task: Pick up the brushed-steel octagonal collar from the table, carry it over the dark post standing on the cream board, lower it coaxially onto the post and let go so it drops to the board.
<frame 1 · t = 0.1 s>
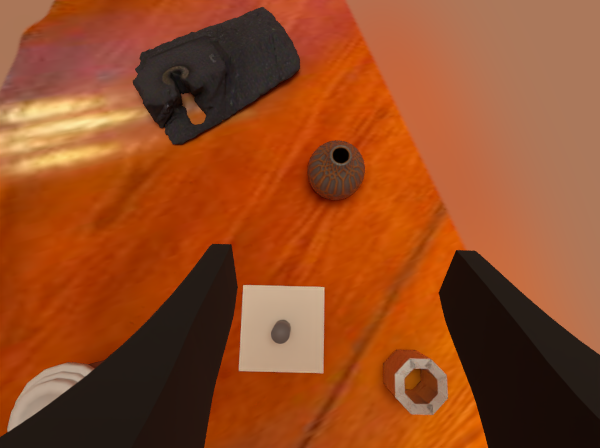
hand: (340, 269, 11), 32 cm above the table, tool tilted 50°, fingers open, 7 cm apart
vase: (332, 180, 45), on the table
coffee cup: (121, 383, 41), on the table
collar: (406, 373, 41), on the table
post stand: (282, 327, 42), on the table
crumpled black cloth: (220, 76, 48), on the table
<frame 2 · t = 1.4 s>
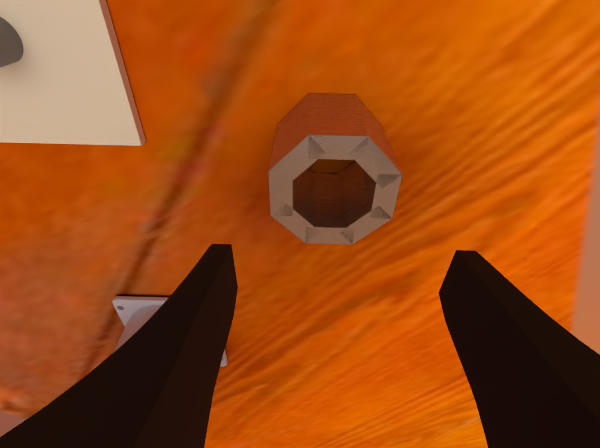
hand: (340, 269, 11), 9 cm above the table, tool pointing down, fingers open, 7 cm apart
collar: (328, 145, 19), on the table
post stand: (7, 36, 16), on the table
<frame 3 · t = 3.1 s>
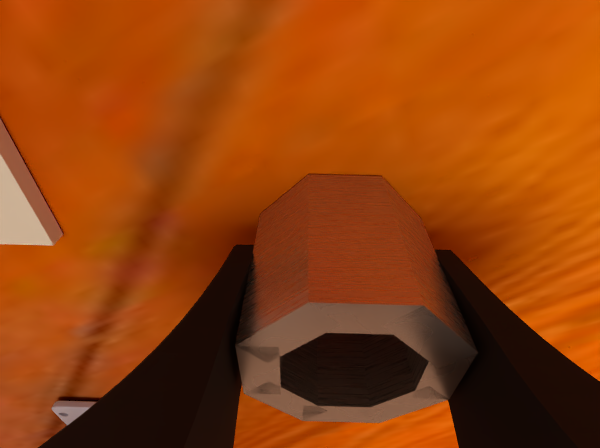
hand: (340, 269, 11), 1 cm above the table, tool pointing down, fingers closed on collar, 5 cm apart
collar: (337, 241, 12), on the table, touching gripper
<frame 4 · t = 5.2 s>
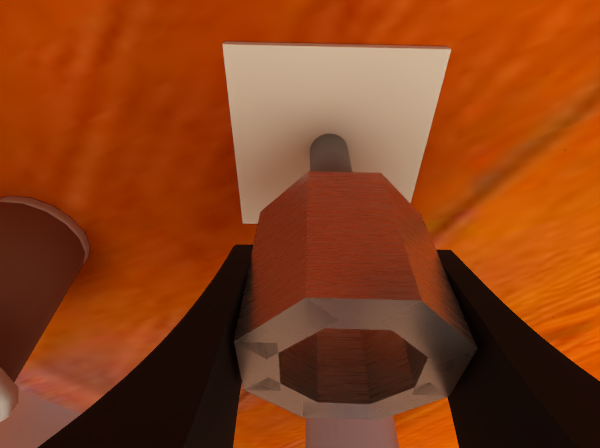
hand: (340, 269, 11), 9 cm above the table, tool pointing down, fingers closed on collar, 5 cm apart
coffee cup: (41, 233, 23), on the table
collar: (337, 238, 12), point 8 cm above the table, touching gripper
post stand: (328, 146, 18), on the table
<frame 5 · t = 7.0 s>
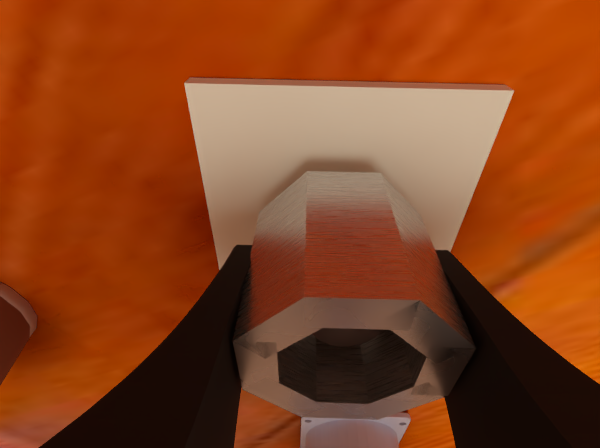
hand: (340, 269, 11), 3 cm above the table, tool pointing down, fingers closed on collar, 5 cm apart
collar: (337, 238, 12), point 2 cm above the table, touching gripper
post stand: (334, 208, 14), on the table
when the fingers open (3 cm above the table, at t = 7.4 s): collar drops 1 cm, resting on post stand.
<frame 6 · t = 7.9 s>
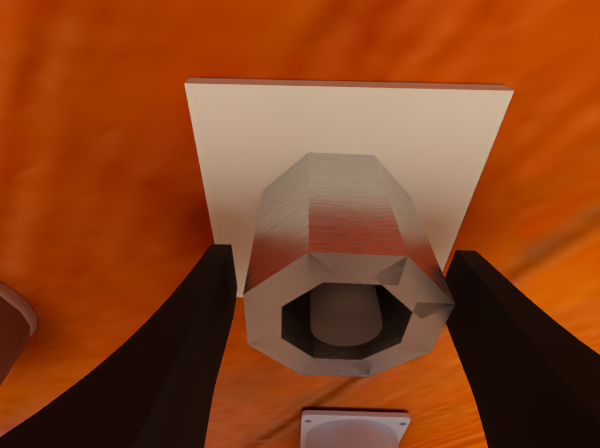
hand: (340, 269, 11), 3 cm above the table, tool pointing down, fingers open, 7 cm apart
collar: (333, 217, 13), point 1 cm above the table, touching post stand
post stand: (334, 209, 14), on the table
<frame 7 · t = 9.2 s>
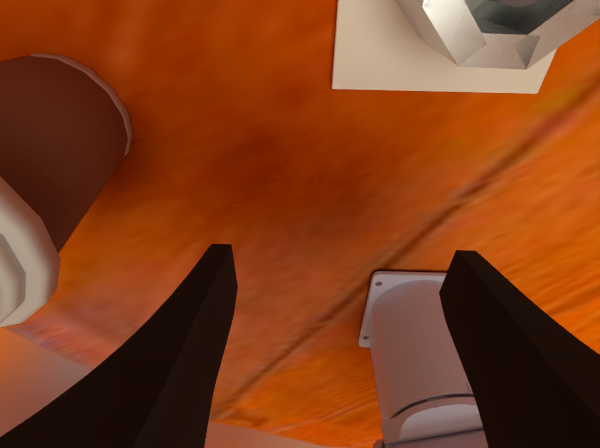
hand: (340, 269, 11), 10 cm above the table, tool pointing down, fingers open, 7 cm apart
coffee cup: (73, 115, 19), on the table
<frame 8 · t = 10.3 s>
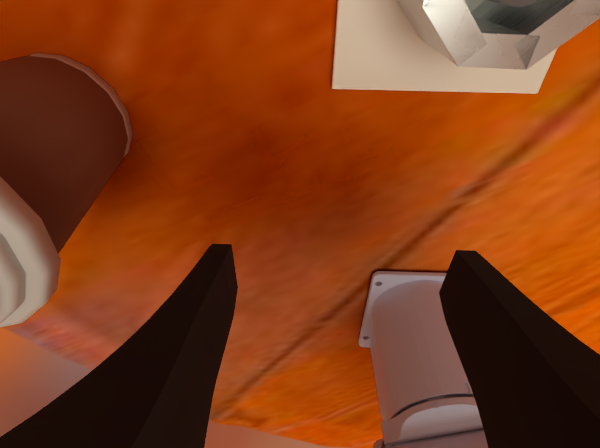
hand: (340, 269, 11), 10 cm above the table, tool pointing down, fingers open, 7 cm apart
coffee cup: (73, 115, 19), on the table
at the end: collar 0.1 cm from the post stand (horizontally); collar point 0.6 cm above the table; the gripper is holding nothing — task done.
